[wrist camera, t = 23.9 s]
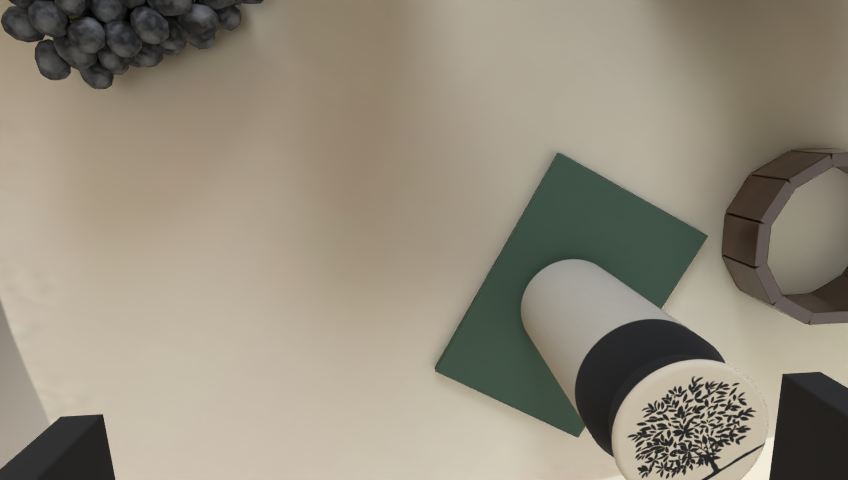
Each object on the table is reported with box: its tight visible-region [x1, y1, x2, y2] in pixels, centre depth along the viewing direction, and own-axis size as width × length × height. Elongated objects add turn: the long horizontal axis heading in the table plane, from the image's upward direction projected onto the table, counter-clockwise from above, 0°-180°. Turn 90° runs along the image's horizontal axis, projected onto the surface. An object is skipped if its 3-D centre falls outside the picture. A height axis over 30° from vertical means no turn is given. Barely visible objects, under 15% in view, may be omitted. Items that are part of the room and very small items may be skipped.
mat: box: [435, 153, 708, 437], centre depth 42 cm, size 20×14×1 cm
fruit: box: [1, 0, 263, 89], centre depth 32 cm, size 9×8×15 cm
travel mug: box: [521, 259, 768, 480], centre depth 33 cm, size 8×8×18 cm
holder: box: [722, 149, 848, 325], centre depth 40 cm, size 13×13×4 cm
